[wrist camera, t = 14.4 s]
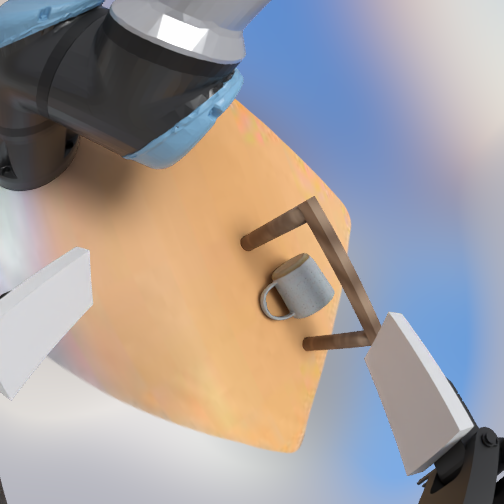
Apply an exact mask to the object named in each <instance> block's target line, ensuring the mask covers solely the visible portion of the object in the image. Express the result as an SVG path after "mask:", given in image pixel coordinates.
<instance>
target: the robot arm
mask: <svg viewBox="0 0 504 504" xmlns="http://www.w3.org/2000/svg"><path fill="white" fill-rule="evenodd" d="M104 1H105V0H8V1H7V2H5V3H4V4H3V5H1V6H0V185H1V186H3V187H5V188H7V189H11V190H30V189H34V188H37V187H40V186H42V185H45V184H47V183H48V182H50V181H52V180H53V179H55V178H56V177H57V176H59V175H60V174H61V173H62V172H63V171H64V170H65V169H66V168H67V167H68V165H69V164H70V163H71V161H72V160H73V158H74V156H75V154H76V151H77V148H78V143H79V137H80V135H82V136H84V137H86V138H88V139H90V140H92V141H93V142H95V143H97V144H99V145H101V146H103V147H105V148H107V149H109V150H111V151H113V152H115V153H117V154H119V155H121V157H123V158H125V159H131V160H134V161H136V162H138V163H141V164H143V165H145V166H148V167H150V168H153V169H164V168H167V167H170V166H172V165H174V164H175V163H177V162H178V161H179V160H180V159H182V158H183V157H184V156H185V155H186V154H187V153H188V152H189V151H190V150H191V149H192V148H193V147H194V146H195V145H196V144H197V143H198V142H199V141H200V140H201V139H202V138H203V137H204V135H205V134H206V133H207V132H208V131H209V130H210V129H211V127H212V126H213V125H214V124H215V121H216V119H217V118H218V117H219V116H220V115H221V114H222V113H223V112H224V111H225V110H226V109H227V108H228V107H229V106H230V104H231V103H232V102H233V100H234V99H235V97H236V96H237V94H238V92H239V91H240V89H241V87H242V85H243V81H244V78H243V76H242V75H241V74H240V71H239V70H238V69H236V67H237V65H238V64H239V63H240V62H241V61H242V59H243V58H244V57H245V55H246V51H245V45H244V39H243V29H244V28H245V27H246V26H247V25H248V24H249V23H250V22H251V20H252V19H253V18H254V17H255V16H256V15H257V14H258V13H259V12H260V11H261V10H262V9H263V8H264V7H265V6H266V5H267V4H268V3H269V2H270V1H271V0H115V1H114V2H113V3H112V5H111V7H110V9H107V8H105V7H103V6H102V4H103V2H104ZM92 305H93V297H92V286H91V271H90V250H87V249H84V248H80V247H75V248H73V249H72V250H70V251H69V252H67V253H66V254H64V255H62V256H61V257H59V258H58V259H56V260H55V261H53V262H52V263H50V264H49V265H47V266H46V267H44V268H43V269H41V270H40V271H38V272H37V273H35V274H34V275H33V276H31V277H30V278H28V279H27V280H26V281H24V282H23V283H21V284H20V285H19V286H17V287H16V288H15V289H13V290H11V291H9V292H6V293H4V294H2V295H1V296H0V392H1V393H2V394H3V395H5V396H6V397H8V398H9V399H10V400H12V399H13V398H14V397H15V395H16V394H17V393H18V391H19V390H20V389H21V387H22V386H23V385H24V383H25V382H26V381H27V380H28V378H29V377H30V376H31V374H32V373H33V372H34V370H35V369H36V368H37V367H38V366H39V364H40V363H41V362H42V361H43V360H44V358H45V357H46V356H47V355H48V354H49V353H50V351H51V350H52V349H53V348H54V347H55V346H56V344H57V343H58V342H59V341H60V340H61V339H62V337H63V336H64V335H65V334H66V333H67V332H68V331H69V330H70V328H71V327H72V326H73V325H74V324H75V323H76V322H77V321H78V320H79V319H80V318H81V316H82V315H83V314H84V313H85V312H86V311H87V310H88V309H89V308H90V307H91V306H92ZM364 359H365V362H366V364H367V367H368V369H369V371H370V374H371V376H372V379H373V381H374V384H375V386H376V389H377V391H378V394H379V397H380V399H381V402H382V404H383V407H384V410H385V412H386V415H387V418H388V420H389V423H390V426H391V429H392V431H393V434H394V437H395V440H396V443H397V446H398V449H399V452H400V455H401V458H402V461H403V464H404V467H405V470H406V473H407V476H409V475H413V474H417V473H420V472H423V471H424V470H426V469H427V468H428V467H429V466H431V465H432V464H433V463H434V465H435V467H436V468H435V469H434V470H432V471H431V472H430V473H428V474H427V475H426V476H424V477H423V478H422V479H420V480H419V482H418V483H417V484H418V485H420V484H421V483H422V482H424V481H425V480H427V479H428V481H427V482H426V483H425V484H423V485H422V487H424V488H425V489H424V491H423V494H422V496H421V498H420V501H419V503H418V504H504V477H503V478H501V479H500V480H499V481H498V482H496V478H497V475H499V474H500V473H501V472H502V471H503V470H504V438H498V437H497V435H496V434H495V433H494V431H493V430H491V429H490V428H487V427H482V428H480V429H479V428H478V426H477V425H476V423H475V421H474V419H473V417H472V416H471V414H470V412H469V410H468V409H467V407H466V405H465V403H464V402H463V401H462V398H461V397H460V395H459V394H457V393H458V392H457V390H456V388H455V387H454V385H453V384H452V383H451V381H449V380H448V379H447V378H446V377H445V376H444V374H443V373H442V371H441V370H440V368H439V366H438V365H437V363H436V362H435V360H434V359H433V357H432V356H431V354H430V353H429V351H428V350H427V348H426V347H425V345H424V344H423V343H422V341H421V340H420V338H419V337H418V335H417V334H416V333H415V331H414V330H413V328H412V327H411V326H410V324H409V323H408V322H407V320H406V319H405V317H404V316H403V315H402V314H400V313H393V312H388V314H387V316H386V319H385V321H384V323H383V325H382V327H381V329H380V331H379V332H378V334H377V336H376V338H375V340H374V342H373V344H372V346H371V348H370V350H369V351H368V353H367V355H366V357H365V358H364ZM0 504H7V502H6V498H5V495H4V491H3V487H2V483H1V479H0Z"/></svg>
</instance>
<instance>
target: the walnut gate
mask: <svg viewBox="0 0 504 504" xmlns="http://www.w3.org/2000/svg"><path fill="white" fill-rule="evenodd" d="M305 223H308V225H309V227H310V228H311V230H312V232H313V234H314V235H315V237H316V239H317V241H318V243H319V244H320V246H321V248H322V250H323V252H324V253H325V255H326V257H327V259H328V261H329V263H330V264H331V266H332V268H333V270H334V272H335V274H336V276H337V278H338V280H339V281H340V283H341V285H342V287H343V289H344V291H345V293H346V295H347V297H348V299H349V301H350V303H351V305H352V307H353V309H354V310H355V313H356V315H357V317H358V319H359V321H360V323H361V325H362V327H363V329H364V330H363V331H357V332H349V333H341V334H333V335H324V336H315V337H306V338H305V339H304V340H303V348H304V349H305V350H306V351H314V350H330V349H343V348H353V347H364V346H372V344H373V342H374V340H375V338H376V336H377V334H378V332H379V331H380V329H381V325H380V322H379V320H378V318H377V316H376V313H375V311H374V309H373V307H372V305H371V302H370V300H369V298H368V296H367V294H366V292H365V290H364V288H363V286H362V284H361V281H360V280H359V277H358V275H357V273H356V271H355V269H354V267H353V265H352V264H351V261H350V260H349V257H348V256H347V254H346V252H345V250H344V248H343V246H342V244H341V242H340V240H339V239H338V237H337V235H336V233H335V231H334V229H333V228H332V226H331V224H330V222H329V220H328V219H327V217H326V215H325V213H324V211H323V210H322V208H321V206H320V205H319V203H318V201H317V199H316V198H315V196H313V197H312V198H310V199H308V200H306V201H305V202H303V203H301V204H300V205H298V206H296V207H294V208H293V209H291V210H289V211H287V212H286V213H284V214H282V215H280V216H279V217H277V218H275V219H273V220H272V221H270V222H268V223H266V224H265V225H263V226H261V227H260V228H258V229H256V230H254V231H253V232H251V233H249V234H248V235H246V236H244V237H243V238H242V239H241V246H242V247H243V249H244V250H246V251H251V250H253V249H255V248H257V247H259V246H261V245H263V244H265V243H267V242H269V241H271V240H273V239H275V238H277V237H279V236H281V235H283V234H285V233H287V232H289V231H291V230H293V229H295V228H297V227H299V226H301V225H303V224H305Z"/></svg>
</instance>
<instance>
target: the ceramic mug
mask: <svg viewBox="0 0 504 504" xmlns="http://www.w3.org/2000/svg"><path fill="white" fill-rule="evenodd" d="M272 280H273V282H272V283H271V284H269V285H268V286H267V287H266V288H265V289H264V291H263V293H262V295H261V299H260V303H261V308H262V310H263V312H264V313H265V314H266V315H267V316H268V317H269V318H271V319H274V320H285V319H288V318H290V317H292V316H293V317H294V318H296V319H300V318H304V317H308V316H310V315H312V314H314V313H316V312H317V311H319V310H320V309H322V308H323V307H324V306H325V305H327V304H328V303H329V302H330V301H331V299H332V298H333V296H334V290H333V288H332V287H331V285H330V284H329V282H328V281H327V279H326V278H325V276H324V275H323V273H322V272H321V270H320V269H319V267H318V266H317V264H316V263H315V261H314V260H313V259H312V258H311V257H310V256H309V255H308V254H305V253H303V254H299V255H297V256H295V257H293V258H292V259H290V260H288V261H287V262H285V263H284V264H282V265H281V266H280V267H278V268H277V269H276V270H275V271H274V272H273V274H272ZM274 286H275V287H276V289H277V290H278V292H279V294H280V295H281V297H282V299H283V301H284V302H285V304H286V306H287V308H288V309H289V311H290V313H289V314H287V315H285V316H281V317H276V316H272V315H271V314H270V312H269V311H268V309H267V302H266V295H267V293H268V291H269V290H270V289H271V288H272V287H274Z"/></svg>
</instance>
